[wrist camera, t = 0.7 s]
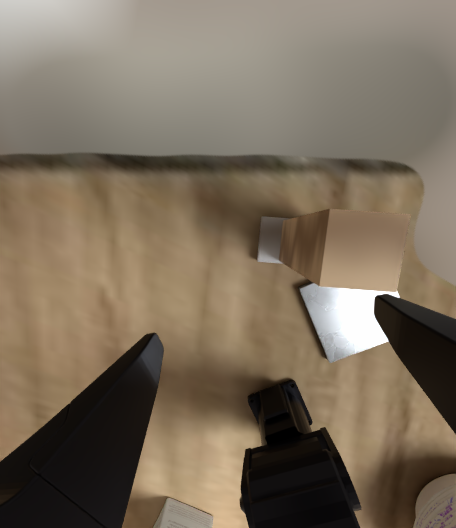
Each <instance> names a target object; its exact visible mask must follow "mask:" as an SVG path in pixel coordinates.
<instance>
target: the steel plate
mask: <svg viewBox="0 0 456 528" xmlns="http://www.w3.org/2000/svg"><path fill="white" fill-rule="evenodd" d="M298 289H299V292H300V294H301V297H302V299H303V302H304V304H305V306H306V309H307V311H308V314H309V316H310V319H311V321H312V323H313V326H314V328H315V331H316V333H317V336H318V338H319V340H320V343H321V345H322V348H323V350H324V353H325V355H326V358H327V360H328V361H329V362H330V363H331V362H334V361H337V360H339V359H342V358H345V357H347V356H350V355H353V354H355V353H358V352H361V351H363V350H366V349H369V348H371V347H374V346H377V345H379V344H382V343H385V342H387V341H388V339H387V337H386V336H385V334H384V332H383V331H382V329H381V327H380V326H379V324H378V322H377V320H376V319H375V317H374V298H375V296H377V295H381V294H390V295H393V296H395V297H398V298H399V295H398V292H384V291H371V290H358V289H345V288H332V287H319V286H318V285H316V284H315V283H313V282H309V283H307V284H304V285H302V286H299V287H298Z"/></svg>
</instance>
